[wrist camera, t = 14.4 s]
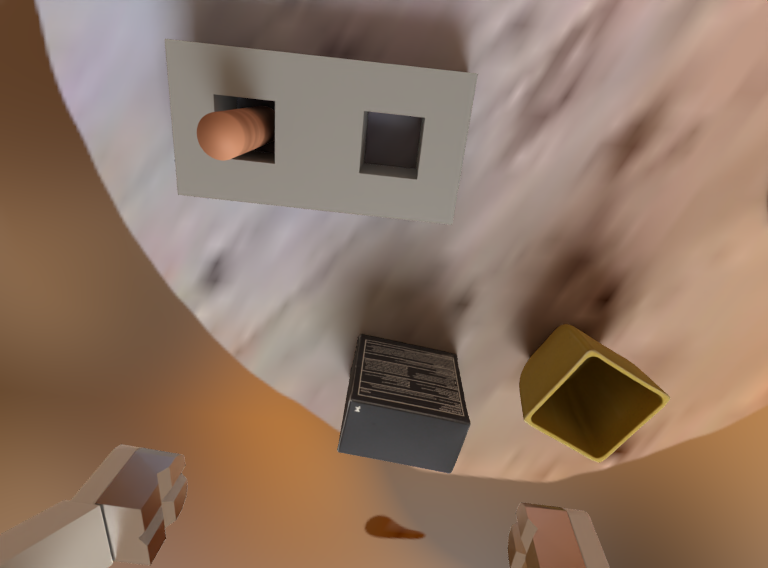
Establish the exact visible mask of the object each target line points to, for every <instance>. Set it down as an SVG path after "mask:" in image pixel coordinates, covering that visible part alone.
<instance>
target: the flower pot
mask: <svg viewBox="0 0 768 568" xmlns="http://www.w3.org/2000/svg"><path fill="white" fill-rule="evenodd" d="M519 388H520V397H521V404H522V411H523V418H524V421H525V422H526V423H527V424H529V425H530V426H532V427H534V428H535V429H537V430H539V431H541V432H542V433H544V434H546V435H548V436H550V437H552V438H553V439H555V440H557V441H559V442H560V443H562V444H564V445H566V446H568V447H570V448H571V449H573V450H575V451H577V452H578V453H580V454H582V455H583V456H585V457H587V458H589V459H591V460H593V461H596V462H599V463H600V462H602V461H603V460H605V459H606V458H607V457H608V456H610V455H611V454H612V453H613V452H614V451H615V450H616V449H617V448H618V447H619V446H620V445H622V444H623V443H624V442H625V441H626V440H627V439H628V438H629V437H630V436H632V435H633V434H634V433H635V432H636V431H637V430H638V429H639V428H640V427H642V426H643V425H644V424H645V423H646V422H647V421H649V420H650V419H651V418H652V417H653V416H654V415H655V414H657V413H658V412H659V411H660V410H661V409H662V408H663V407H664V406H665V405H666V404H667V402H668V401H669V400H670V397H669V396H668V395H667V394H666V393H665V392H664V391H663V390H662V389H661V388H660V387H659V386H657V385H656V384H655V383H654V382H653V381H652V380H651V379H650V378H649V377H648V376H647V375H646V374H644V373H643V372H642V371H641V370H640V369H639V368H638V367H636V366H635V365H634V364H633V363H631V362H630V361H628V360H627V359H625V358H624V357H622V356H620V355H619V354H617V353H615V352H613V351H612V350H610V349H609V348H607V347H605V346H604V345H602V344H601V343H599V342H597V341H596V340H594V339H593V338H591V337H589V336H588V335H586V334H585V333H583V332H582V331H580V330H579V329H577V328H575V327H574V326H572V325H569V324H563V325H560V326H559V327H557V328H556V330H555V331H554V332H553V333H552V334H551V335H550V336H549V337H548V338H547V339H546V341H545V342H544V343H543V344H542V345H541V346H540V347H539V348H538V349H537V350H536V351H535V353H534V354H533V355H532V356H531V357H530V359H529V360H528V362H527V363H526V365H525V366H524V368H523V371H522V373H521V376H520V382H519Z"/></svg>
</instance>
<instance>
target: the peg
mask: <svg viewBox="0 0 768 568" xmlns="http://www.w3.org/2000/svg"><path fill="white" fill-rule="evenodd" d="M197 139H198V142H199V145H200V147H201V148H202V149H203V151H204V152H205V153H206V154H207V155H209V156H210V157H212V158H214V159H217V160H223V161H224V160H230V159H232V158H235V157H237V156H239V155H242V154H244V153H246V152H249V151H251V150H254V149H256V148H258V147H261V146H263V145H266V144H268V143H270V142H273V141H274V140H275V111H274V110H273V109H271V108H270V107H267V106H255V107H248V108H240V109H233V110H225V111H218V112H211V113H208V114H206V115H205V116H204V117H202V119H201V120H200V121H199V123H198V126H197Z"/></svg>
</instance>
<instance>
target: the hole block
mask: <svg viewBox="0 0 768 568" xmlns="http://www.w3.org/2000/svg"><path fill="white" fill-rule="evenodd" d="M165 49H166V60H167V72H168V84H169V95H170V107H171V119H172V131H173V142H174V154H175V166H176V177H177V189H178V195H185V196H194V197H203V198H212V199H221V200H230V201H239V202H248V203H257V204H266V205H276V206H285V207H294V208H303V209H312V210H321V211H330V212H339V213H348V214H357V215H366V216H375V217H384V218H393V219H403V220H412V221H421V222H430V223H439V224H448V225H452V224H453V218H454V212H455V206H456V200H457V194H458V188H459V182H460V176H461V170H462V164H463V159H464V153H465V147H466V141H467V135H468V129H469V123H470V117H471V111H472V105H473V99H474V93H475V88H476V82H477V76H478V74H476V73H467V72H458V71H449V70H440V69H431V68H422V67H414V66H405V65H396V64H387V63H378V62H369V61H360V60H351V59H342V58H333V57H324V56H315V55H306V54H297V53H288V52H279V51H270V50H261V49H252V48H243V47H234V46H225V45H216V44H207V43H198V42H189V41H180V40H171V39H165ZM237 97H243V98H252V99H261V100H270V101H275V153H268V152H259V151H249V152H246V153H244V154H242V155H239V156H237V157H235V158H232V159H230V160H224V161H223V160H217V159H214V158H212V157H210V156H209V155H207V154H206V153H205V152H204V151H203V149H202V148H201V147H200V145H199V142H198V139H197V126H198V123H199V121H200V120H201V119H202V117H204V116H205V115H206V114H208V113H211V112H218V111H225V110H233V109H237ZM368 111H369V112H378V113H387V114H396V115H405V116H414V117H422V123H421V131H420V138H419V146H418V154H417V162H416V169H413V168H404V167H395V166H386V165H377V164H368V163H364V160H365V148H366V136H367V123H368Z"/></svg>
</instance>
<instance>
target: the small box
mask: <svg viewBox="0 0 768 568" xmlns="http://www.w3.org/2000/svg"><path fill="white" fill-rule="evenodd" d="M457 360H458V359H457V355H456V354H452V353H448V352H443V351H439V350H434V349H429V348H424V347H420V346H415V345H410V344H405V343H401V342H396V341H391V340H386V339H382V338H377V337H372V336H367V335H363V334H361V335H360V336H359V337H358V340H357V346H356V351H355V357H354V360H353V365H352V367H351V372H350V379H349V386H348V391H347V397H346V403H345V409H344V415H343V421H342V426H341V433H340V439H339V444H338V449H337V450H338V452H341V453H346V454H352V455H357V456H362V457H368V458H373V459H378V460H384V461H389V462H394V463H399V464H404V465H409V466H414V467H420V468H425V469H430V470H435V471H440V472H445V473H451V472H452V470H453V468H454V466H455V463H456V461H457V458H458V456H459V453H460V451H461V448H462V445H463V443H464V440H465V437H466V435H467V432H468V430H469V427H470V419H469V416H468V412H467V409H466V403H465V398H464V392H463V387H462V382H461V377H460V372H459V367H458V362H457Z"/></svg>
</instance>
